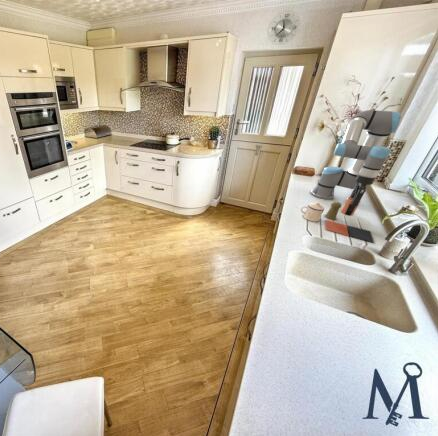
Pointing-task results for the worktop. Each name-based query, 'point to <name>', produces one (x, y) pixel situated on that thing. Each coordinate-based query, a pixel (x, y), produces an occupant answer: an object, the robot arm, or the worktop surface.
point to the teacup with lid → (313, 211)
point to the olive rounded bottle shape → (333, 211)
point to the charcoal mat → (360, 234)
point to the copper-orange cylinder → (348, 206)
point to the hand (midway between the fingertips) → (346, 212)
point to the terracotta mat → (337, 227)
